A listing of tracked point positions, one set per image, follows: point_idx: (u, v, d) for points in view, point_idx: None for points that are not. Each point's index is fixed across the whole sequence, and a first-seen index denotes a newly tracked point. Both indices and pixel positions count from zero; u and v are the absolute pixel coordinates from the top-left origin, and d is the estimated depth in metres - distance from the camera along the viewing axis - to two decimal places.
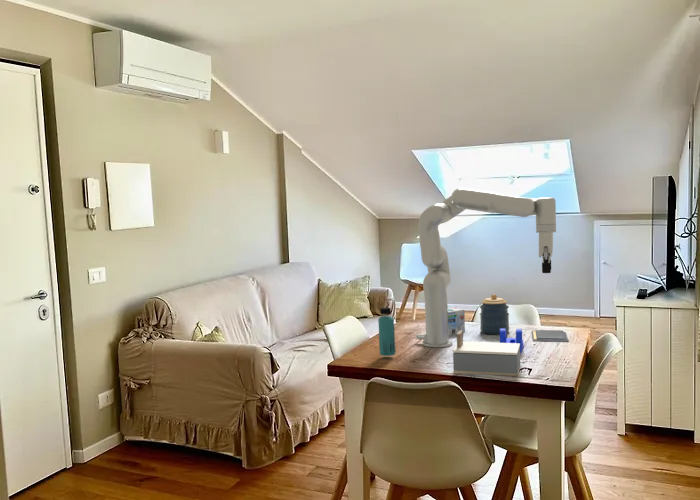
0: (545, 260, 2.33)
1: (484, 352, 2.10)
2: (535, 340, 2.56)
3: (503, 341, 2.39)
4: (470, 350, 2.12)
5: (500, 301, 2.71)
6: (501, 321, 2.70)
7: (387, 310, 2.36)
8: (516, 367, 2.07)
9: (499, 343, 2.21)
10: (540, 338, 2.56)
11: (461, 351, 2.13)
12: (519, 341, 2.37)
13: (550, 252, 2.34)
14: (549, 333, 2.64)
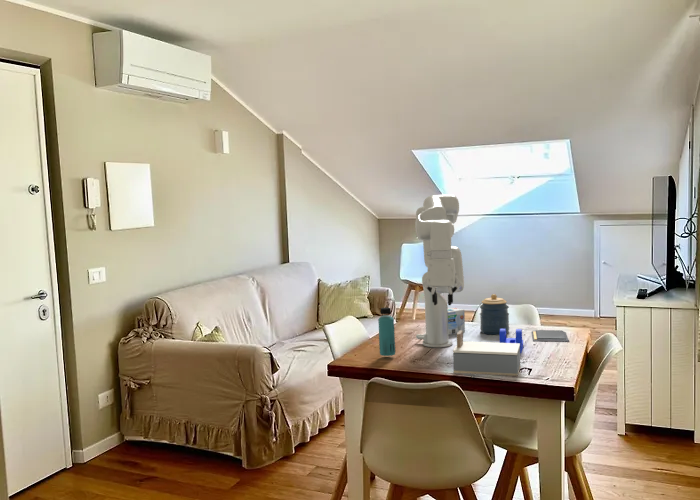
0: (455, 290, 2.19)
1: (484, 352, 2.10)
2: (535, 340, 2.56)
3: (503, 341, 2.39)
4: (470, 350, 2.12)
5: (500, 301, 2.71)
6: (501, 321, 2.70)
7: (387, 310, 2.36)
8: (516, 367, 2.07)
9: (499, 343, 2.21)
10: (540, 338, 2.56)
11: (461, 351, 2.13)
12: (519, 341, 2.37)
13: None
14: (549, 333, 2.64)
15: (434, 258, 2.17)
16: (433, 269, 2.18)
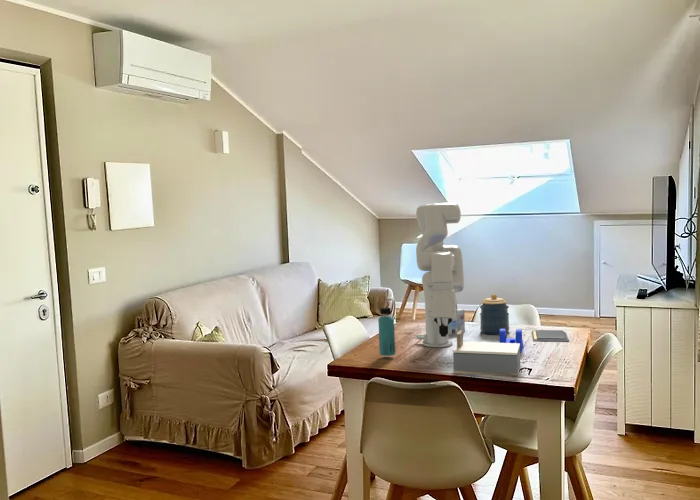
0: None
1: (484, 352, 2.10)
2: (535, 340, 2.56)
3: (503, 341, 2.39)
4: (470, 350, 2.12)
5: (500, 301, 2.71)
6: (501, 321, 2.70)
7: (387, 310, 2.36)
8: (516, 367, 2.07)
9: (499, 343, 2.21)
10: (540, 338, 2.56)
11: (461, 351, 2.13)
12: (519, 341, 2.37)
13: None
14: (549, 333, 2.64)
15: (435, 289, 2.18)
16: (434, 300, 2.19)
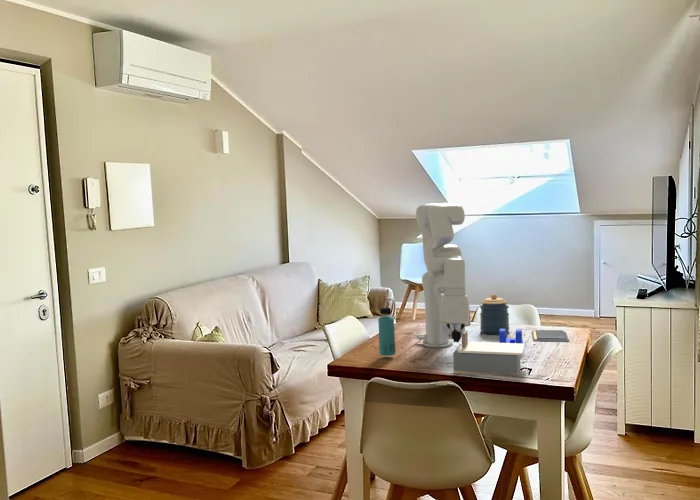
0: (463, 327, 2.19)
1: (489, 352, 2.10)
2: (535, 340, 2.56)
3: (503, 341, 2.39)
4: (475, 350, 2.12)
5: (500, 301, 2.71)
6: (501, 321, 2.70)
7: (387, 310, 2.36)
8: (516, 367, 2.07)
9: (504, 343, 2.20)
10: (540, 338, 2.56)
11: (466, 351, 2.12)
12: (519, 341, 2.37)
13: None
14: (549, 333, 2.64)
15: (448, 295, 2.17)
16: (447, 306, 2.17)
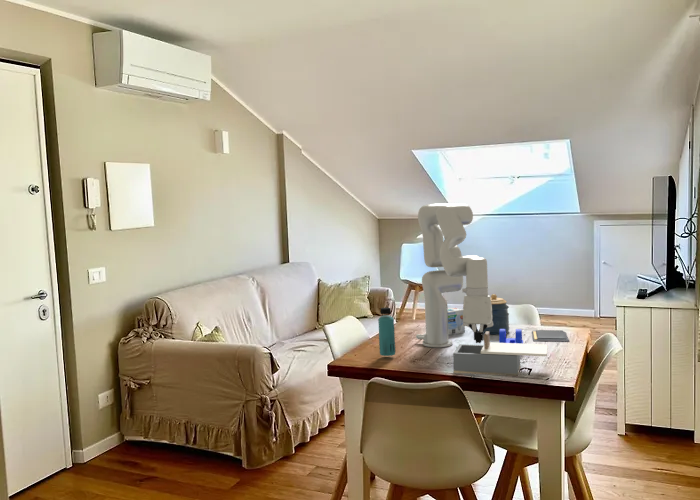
0: (485, 328, 2.16)
1: (513, 353, 2.07)
2: (535, 340, 2.56)
3: (503, 341, 2.39)
4: (498, 351, 2.09)
5: (500, 301, 2.71)
6: (501, 321, 2.70)
7: (387, 310, 2.36)
8: (516, 367, 2.07)
9: (526, 344, 2.18)
10: (540, 338, 2.56)
11: (489, 352, 2.10)
12: (519, 341, 2.37)
13: None
14: (549, 333, 2.64)
15: (470, 295, 2.14)
16: (469, 306, 2.15)
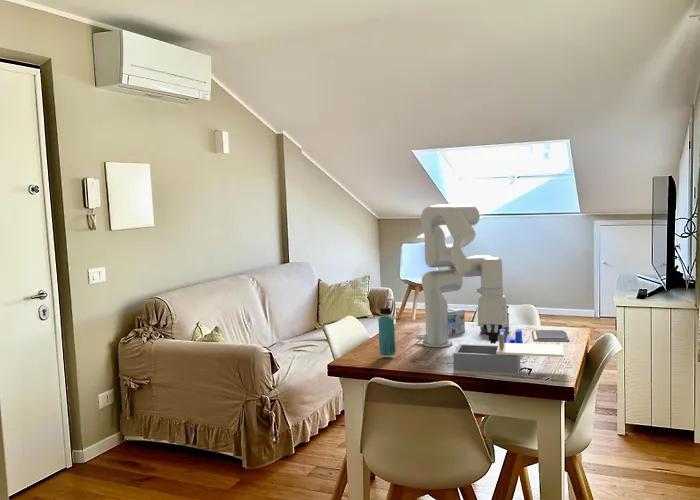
0: (500, 328, 2.14)
1: (528, 354, 2.05)
2: (536, 340, 2.56)
3: None
4: (514, 352, 2.07)
5: None
6: None
7: (387, 310, 2.36)
8: (516, 367, 2.07)
9: (542, 345, 2.16)
10: (541, 338, 2.56)
11: (504, 353, 2.08)
12: (519, 341, 2.37)
13: None
14: (549, 333, 2.64)
15: (485, 295, 2.12)
16: (484, 307, 2.13)
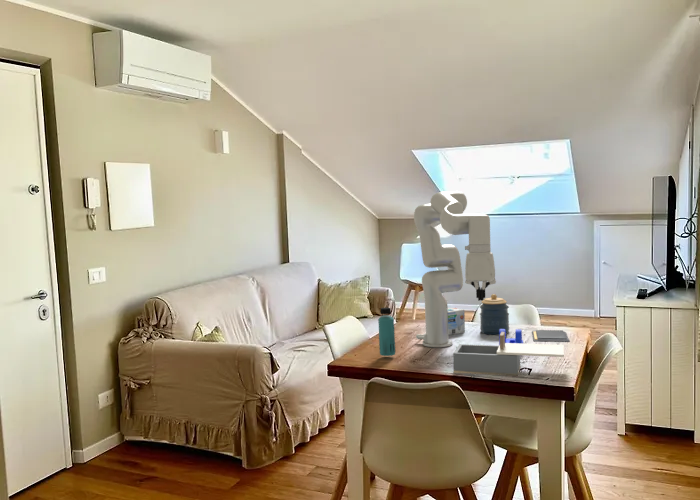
0: (487, 285, 2.15)
1: (529, 354, 2.05)
2: (536, 340, 2.56)
3: None
4: (514, 352, 2.07)
5: (500, 301, 2.71)
6: (501, 321, 2.70)
7: (387, 310, 2.36)
8: (516, 367, 2.07)
9: (542, 345, 2.16)
10: (541, 338, 2.56)
11: (505, 353, 2.08)
12: (519, 342, 2.36)
13: None
14: (549, 333, 2.64)
15: (473, 252, 2.13)
16: (472, 263, 2.14)
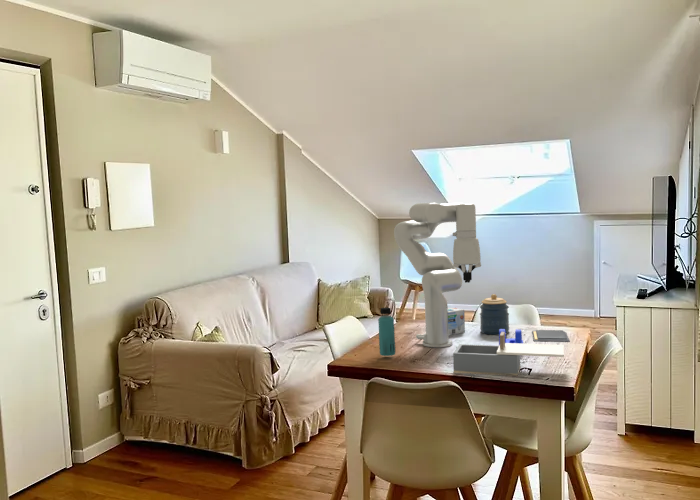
0: (473, 269, 2.34)
1: (529, 354, 2.05)
2: (536, 340, 2.56)
3: None
4: (514, 352, 2.07)
5: (500, 301, 2.71)
6: (501, 321, 2.70)
7: (387, 310, 2.36)
8: (516, 367, 2.07)
9: (542, 345, 2.16)
10: (541, 338, 2.56)
11: (505, 353, 2.08)
12: (518, 342, 2.36)
13: None
14: (550, 333, 2.64)
15: (460, 238, 2.31)
16: (459, 248, 2.32)
